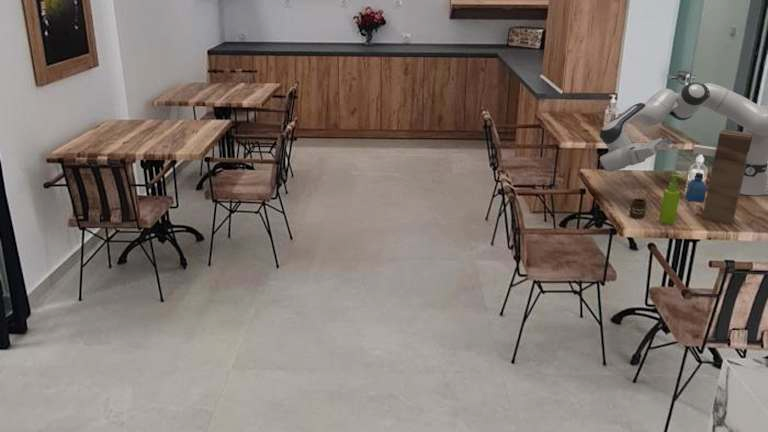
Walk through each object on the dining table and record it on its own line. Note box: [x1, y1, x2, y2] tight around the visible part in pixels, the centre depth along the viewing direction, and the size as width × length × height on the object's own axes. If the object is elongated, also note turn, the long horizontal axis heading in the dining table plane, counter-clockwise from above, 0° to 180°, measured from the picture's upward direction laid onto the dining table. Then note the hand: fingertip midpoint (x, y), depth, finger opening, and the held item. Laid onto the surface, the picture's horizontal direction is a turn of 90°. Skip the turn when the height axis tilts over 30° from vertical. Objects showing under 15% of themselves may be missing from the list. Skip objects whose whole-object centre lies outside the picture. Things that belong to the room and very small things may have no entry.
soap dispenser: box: [658, 173, 687, 225], centre depth 264 cm, size 6×7×20 cm
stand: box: [701, 129, 753, 226], centre depth 265 cm, size 9×11×36 cm
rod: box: [692, 144, 748, 160], centre depth 264 cm, size 3×20×3 cm, turn 57°
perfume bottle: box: [685, 172, 707, 203], centre depth 291 cm, size 6×6×12 cm
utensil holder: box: [629, 189, 651, 220], centre depth 270 cm, size 6×6×12 cm
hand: (669, 141), depth 273 cm, fingers open, 8 cm apart
